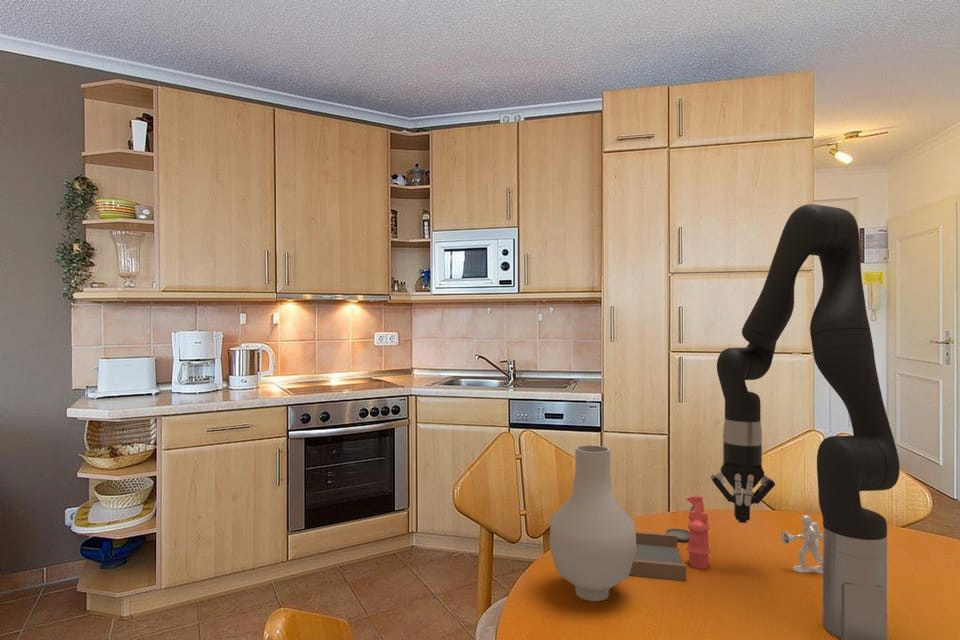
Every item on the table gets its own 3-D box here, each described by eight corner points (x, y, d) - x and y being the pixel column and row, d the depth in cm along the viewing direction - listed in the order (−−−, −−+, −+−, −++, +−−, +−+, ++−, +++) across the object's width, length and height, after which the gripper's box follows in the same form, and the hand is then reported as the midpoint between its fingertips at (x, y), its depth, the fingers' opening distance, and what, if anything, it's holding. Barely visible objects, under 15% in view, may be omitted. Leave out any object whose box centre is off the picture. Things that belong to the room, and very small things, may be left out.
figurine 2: (683, 566, 126) (684, 496, 126) (687, 558, 130) (687, 490, 130) (709, 571, 123) (709, 500, 123) (712, 562, 128) (712, 494, 128)
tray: (686, 580, 119) (686, 566, 119) (596, 572, 123) (596, 557, 123) (676, 547, 136) (676, 534, 136) (598, 540, 140) (598, 528, 140)
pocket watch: (659, 535, 144) (659, 494, 144) (685, 530, 148) (685, 490, 148) (683, 546, 137) (683, 503, 137) (710, 541, 140) (710, 499, 141)
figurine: (834, 574, 122) (834, 517, 122) (794, 577, 121) (794, 519, 121) (817, 565, 127) (817, 509, 127) (779, 567, 125) (779, 511, 125)
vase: (636, 580, 119) (637, 442, 119) (636, 620, 103) (636, 461, 103) (555, 570, 123) (555, 438, 123) (542, 607, 107) (542, 455, 107)
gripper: (712, 442, 123) (712, 525, 123) (780, 445, 120) (780, 530, 120) (706, 435, 130) (706, 513, 130) (771, 438, 127) (771, 518, 127)
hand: (742, 521), depth 125 cm, fingers closed
